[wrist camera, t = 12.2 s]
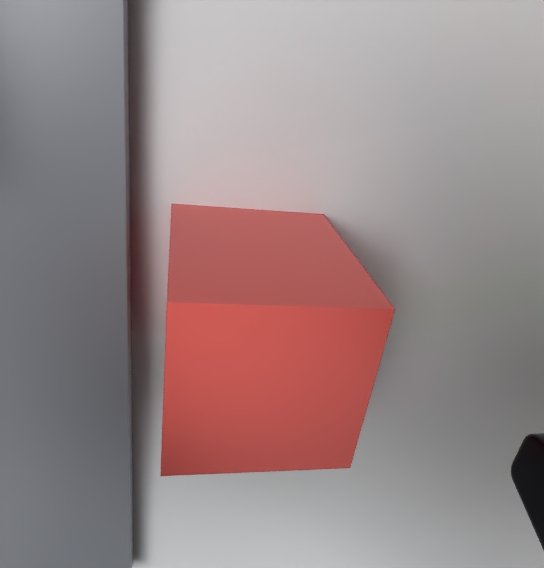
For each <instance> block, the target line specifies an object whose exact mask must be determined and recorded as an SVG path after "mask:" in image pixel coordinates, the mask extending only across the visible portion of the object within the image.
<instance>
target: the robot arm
mask: <svg viewBox="0 0 544 568" xmlns="http://www.w3.org/2000/svg"><path fill="white" fill-rule="evenodd" d="M511 476H512V479H513V482H514V484H515V486H516V489H517V491H518V493H519V495H520V498H521V500H522V502H523V504H524V507H525V509H526V511H527V514H528V516H529V518H530V520H531V523H532V525H533V527H534V529H535V532H536V534H537V536H538V538H539V541H540V543H541V545H542V548H543V550H544V433H543V434H529V435H528V436H526V437H525V439H524V440H523V442H522V444H521V446H520V448H519V450H518V453H517V455H516V457H515V459H514V461H513V463H512V465H511Z"/></svg>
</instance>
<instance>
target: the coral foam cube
mask: <svg viewBox="0 0 544 568" xmlns="http://www.w3.org/2000/svg"><path fill="white" fill-rule="evenodd" d="M394 311H395V308H394V307H393V306H392V304H391V303H390V302H389V300H388V299H387V298H386V296H385V295H384V294H383V292H382V291H381V290H380V288H379V287H378V286H377V284H376V283H375V282H374V280H373V279H372V278H371V276H370V275H369V274H368V273H367V271H366V270H365V269H364V267H363V266H362V265H361V263H360V262H359V261H358V259H357V258H356V257H355V255H354V254H353V253H352V251H351V250H350V249H349V247H348V246H347V245H346V243H345V242H344V241H343V239H342V238H341V237H340V235H339V234H338V233H337V231H336V230H335V229H334V227H333V226H332V225H331V223H330V222H329V221H328V219H327V218H326V217H325V215H324V214H311V213H297V212H282V211H268V210H254V209H240V208H226V207H211V206H197V205H183V204H172V207H171V228H170V249H169V270H168V291H167V316H166V343H165V371H164V398H163V425H162V453H161V476H172V475H195V474H219V473H242V472H265V471H289V470H312V469H336V468H350V466H351V463H352V459H353V456H354V452H355V448H356V445H357V441H358V438H359V434H360V431H361V427H362V424H363V420H364V417H365V413H366V410H367V406H368V403H369V399H370V396H371V392H372V389H373V385H374V382H375V378H376V374H377V371H378V367H379V364H380V360H381V357H382V353H383V350H384V346H385V343H386V339H387V336H388V332H389V329H390V325H391V322H392V318H393V315H394Z"/></svg>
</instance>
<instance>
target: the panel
mask: <svg viewBox="0 0 544 568" xmlns="http://www.w3.org/2000/svg"><path fill="white" fill-rule="evenodd" d="M132 563H133V510H132V400H131V290H130V179H129V69H128V0H0V568H132Z"/></svg>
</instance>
